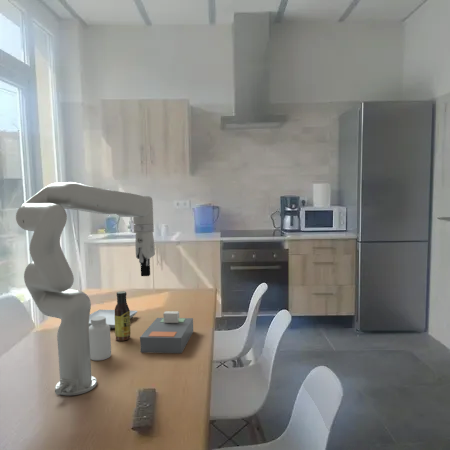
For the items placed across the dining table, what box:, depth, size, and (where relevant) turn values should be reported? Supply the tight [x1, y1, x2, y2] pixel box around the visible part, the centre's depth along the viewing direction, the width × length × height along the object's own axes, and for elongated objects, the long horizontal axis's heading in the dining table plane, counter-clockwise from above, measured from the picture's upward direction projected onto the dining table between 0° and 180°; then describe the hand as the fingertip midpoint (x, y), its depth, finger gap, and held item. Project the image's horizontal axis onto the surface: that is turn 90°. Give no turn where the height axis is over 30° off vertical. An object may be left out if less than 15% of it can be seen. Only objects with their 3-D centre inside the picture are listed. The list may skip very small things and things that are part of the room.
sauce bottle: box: [114, 290, 131, 342], centre depth 179 cm, size 7×6×20 cm
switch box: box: [139, 317, 194, 354], centre depth 176 cm, size 24×16×6 cm, turn 173°
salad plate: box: [89, 309, 138, 329], centre depth 203 cm, size 21×21×3 cm
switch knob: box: [163, 310, 180, 323], centre depth 181 cm, size 3×6×4 cm, turn 83°
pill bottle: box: [89, 316, 112, 361], centre depth 161 cm, size 8×8×15 cm
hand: (145, 275), depth 166 cm, fingers closed
